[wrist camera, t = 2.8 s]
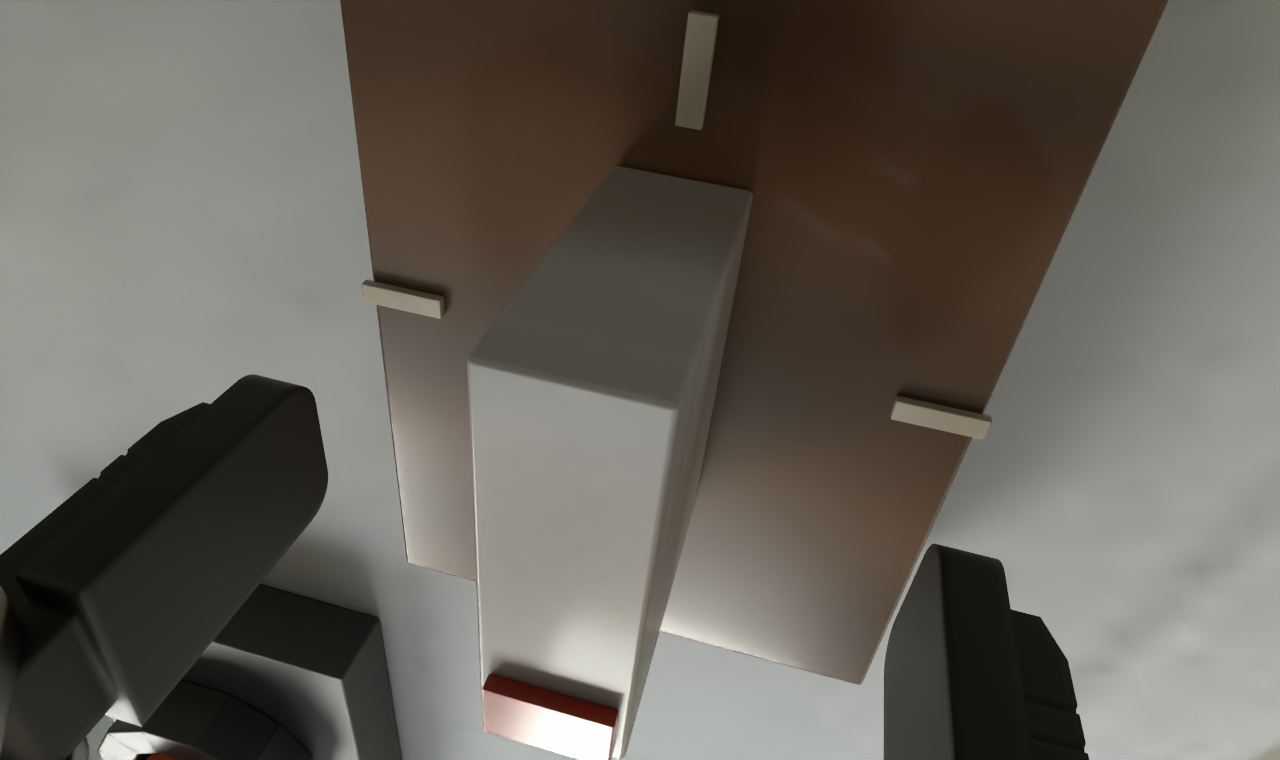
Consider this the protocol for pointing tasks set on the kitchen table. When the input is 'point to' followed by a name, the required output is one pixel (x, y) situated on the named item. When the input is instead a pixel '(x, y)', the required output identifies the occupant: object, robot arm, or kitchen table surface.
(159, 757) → the button
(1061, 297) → the kitchen table surface
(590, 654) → the tap lever
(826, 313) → the base
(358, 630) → the push button box
